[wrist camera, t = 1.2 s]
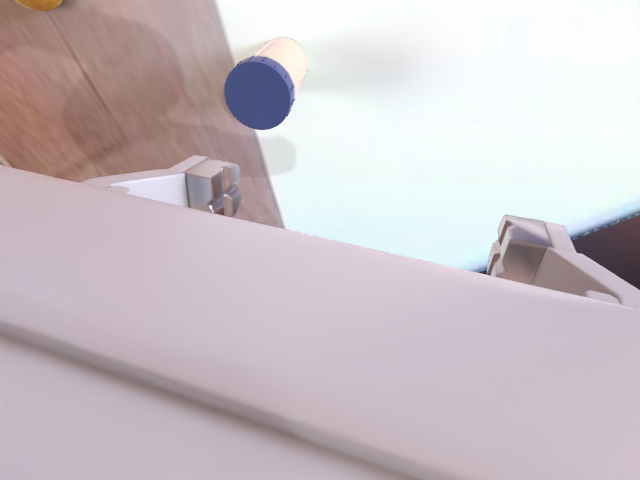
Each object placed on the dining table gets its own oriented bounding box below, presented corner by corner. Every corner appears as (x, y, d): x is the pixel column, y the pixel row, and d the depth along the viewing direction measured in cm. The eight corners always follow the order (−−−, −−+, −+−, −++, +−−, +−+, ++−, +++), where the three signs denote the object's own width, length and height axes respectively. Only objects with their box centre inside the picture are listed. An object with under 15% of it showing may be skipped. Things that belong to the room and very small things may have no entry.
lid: (234, 120, 39) (228, 128, 37) (226, 53, 35) (219, 59, 34) (295, 124, 38) (292, 132, 37) (294, 57, 34) (289, 62, 33)
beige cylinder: (261, 88, 46) (232, 123, 37) (257, 35, 42) (224, 61, 34) (308, 90, 45) (290, 127, 37) (308, 37, 42) (287, 64, 34)
